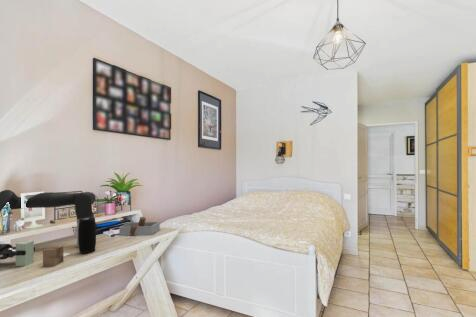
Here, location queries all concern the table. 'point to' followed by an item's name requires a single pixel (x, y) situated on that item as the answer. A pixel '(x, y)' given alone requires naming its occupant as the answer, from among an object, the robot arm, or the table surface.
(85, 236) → the portable speaker
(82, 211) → the robot arm
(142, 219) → the wooden block set
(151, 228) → the organizer tray
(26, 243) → the sage brick
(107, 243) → the table surface
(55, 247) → the walnut brick
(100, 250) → the table surface
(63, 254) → the page
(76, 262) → the table surface
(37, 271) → the table surface
